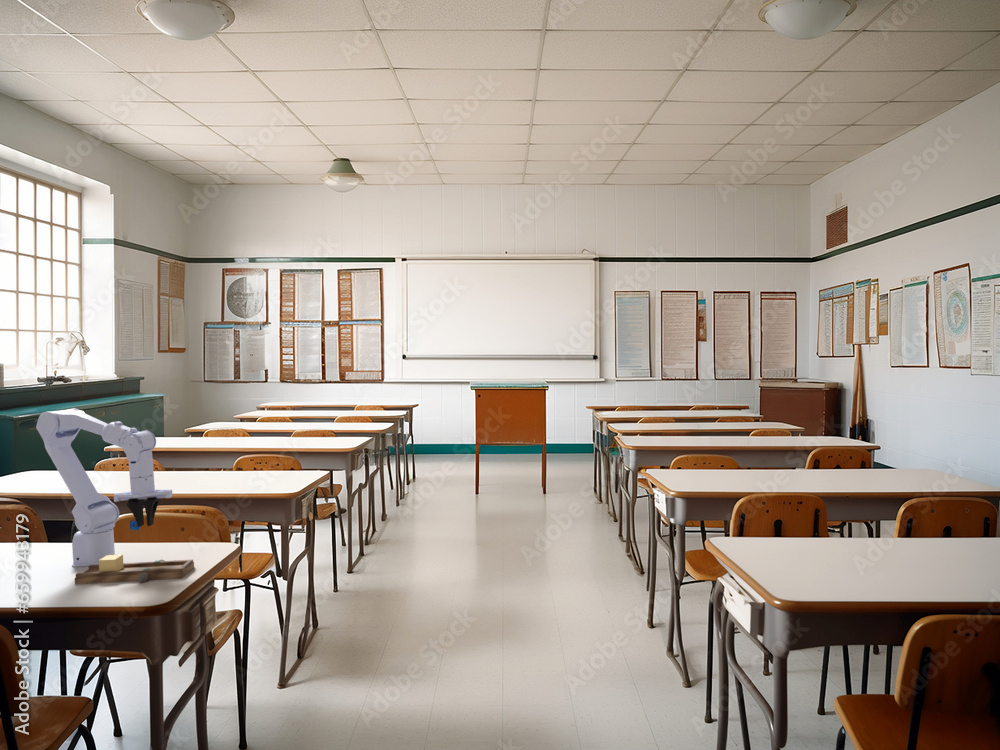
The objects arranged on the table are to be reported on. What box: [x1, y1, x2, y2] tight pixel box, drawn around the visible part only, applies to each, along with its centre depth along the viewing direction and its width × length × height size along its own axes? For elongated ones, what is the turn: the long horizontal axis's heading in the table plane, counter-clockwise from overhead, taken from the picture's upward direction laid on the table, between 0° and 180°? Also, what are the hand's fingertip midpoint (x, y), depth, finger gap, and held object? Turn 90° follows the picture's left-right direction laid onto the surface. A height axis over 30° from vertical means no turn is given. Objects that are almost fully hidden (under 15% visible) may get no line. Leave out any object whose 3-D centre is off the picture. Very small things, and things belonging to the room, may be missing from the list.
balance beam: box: [74, 559, 195, 585], centre depth 169 cm, size 26×12×2 cm, turn 95°
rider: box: [99, 553, 124, 572], centre depth 168 cm, size 4×4×4 cm
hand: (145, 525), depth 178 cm, fingers closed
